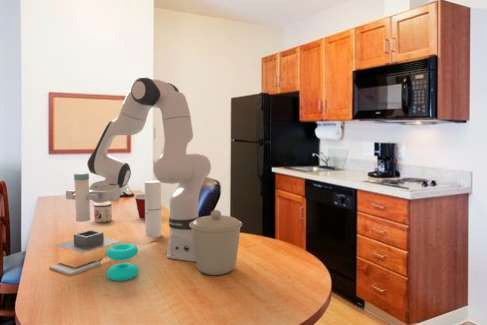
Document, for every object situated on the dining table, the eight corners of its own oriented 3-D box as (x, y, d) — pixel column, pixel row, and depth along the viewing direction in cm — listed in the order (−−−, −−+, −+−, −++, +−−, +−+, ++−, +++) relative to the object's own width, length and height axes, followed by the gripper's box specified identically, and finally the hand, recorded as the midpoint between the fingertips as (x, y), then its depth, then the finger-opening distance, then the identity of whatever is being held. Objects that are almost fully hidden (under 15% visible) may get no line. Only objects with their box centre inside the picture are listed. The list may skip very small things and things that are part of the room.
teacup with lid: (90, 220, 197) (90, 199, 196) (106, 217, 204) (105, 196, 203) (102, 224, 190) (102, 202, 189) (118, 221, 197) (117, 199, 196)
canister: (215, 257, 141) (215, 202, 139) (252, 268, 130) (252, 209, 128) (179, 271, 127) (178, 210, 125) (217, 285, 116) (217, 219, 114)
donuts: (143, 247, 122) (114, 254, 115) (144, 276, 122) (115, 285, 116) (129, 240, 129) (100, 246, 122) (129, 268, 130) (101, 276, 123)
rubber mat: (101, 264, 133) (101, 262, 133) (70, 275, 123) (70, 273, 123) (80, 258, 139) (80, 256, 139) (49, 268, 129) (49, 266, 129)
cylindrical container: (157, 238, 166) (156, 183, 164) (142, 237, 167) (141, 182, 165) (164, 233, 173) (163, 180, 171) (149, 232, 174) (148, 180, 172)
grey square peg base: (121, 244, 157) (120, 231, 156) (83, 256, 141) (82, 242, 141) (93, 237, 166) (93, 225, 165) (55, 248, 151) (55, 235, 150)
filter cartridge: (93, 219, 143) (91, 173, 142) (81, 222, 139) (79, 174, 138) (85, 218, 146) (83, 172, 145) (72, 220, 142) (71, 174, 140)
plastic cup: (142, 220, 199) (142, 198, 198) (130, 217, 205) (130, 195, 204) (158, 216, 208) (158, 195, 207) (146, 213, 214) (145, 193, 213)
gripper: (77, 184, 156) (55, 189, 142) (122, 184, 153) (105, 189, 139) (77, 198, 156) (56, 205, 143) (123, 199, 153) (105, 206, 140)
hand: (80, 197), depth 141 cm, fingers closed on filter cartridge, 5 cm apart
